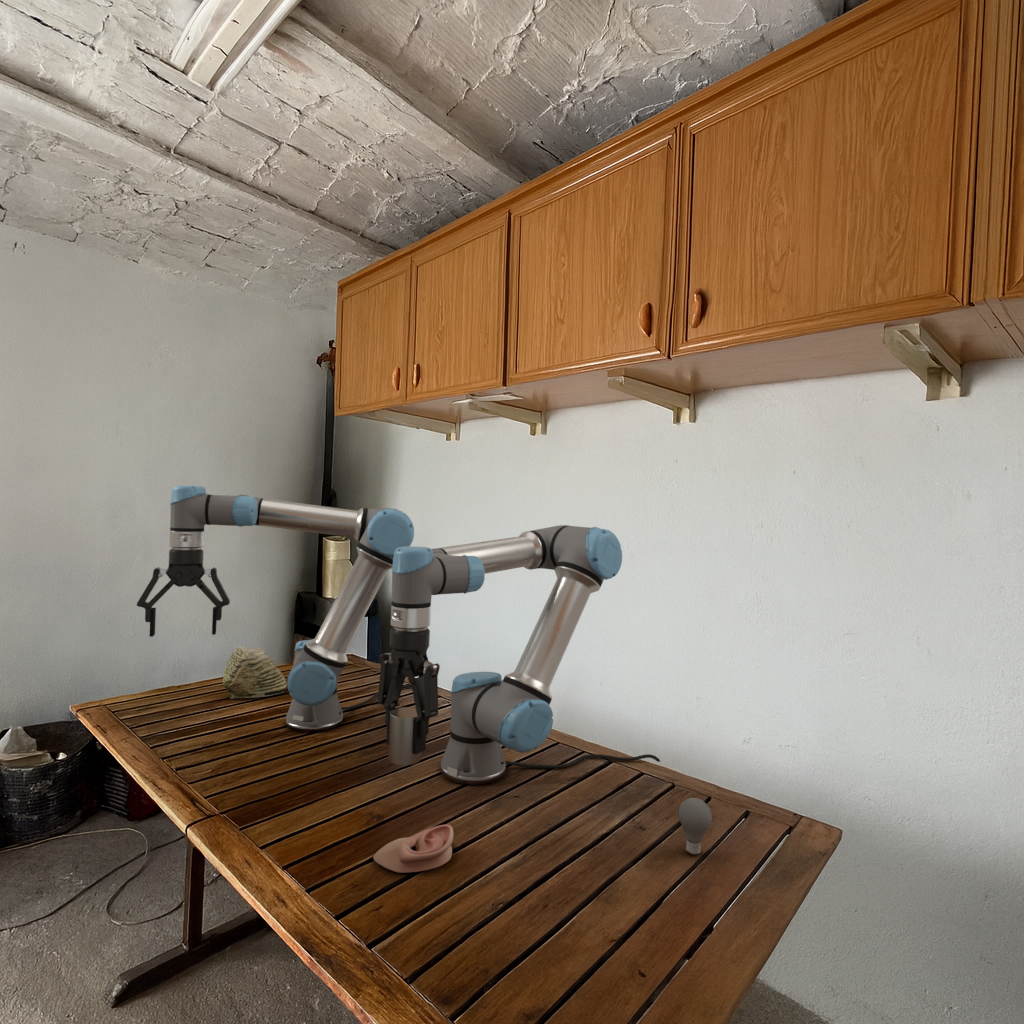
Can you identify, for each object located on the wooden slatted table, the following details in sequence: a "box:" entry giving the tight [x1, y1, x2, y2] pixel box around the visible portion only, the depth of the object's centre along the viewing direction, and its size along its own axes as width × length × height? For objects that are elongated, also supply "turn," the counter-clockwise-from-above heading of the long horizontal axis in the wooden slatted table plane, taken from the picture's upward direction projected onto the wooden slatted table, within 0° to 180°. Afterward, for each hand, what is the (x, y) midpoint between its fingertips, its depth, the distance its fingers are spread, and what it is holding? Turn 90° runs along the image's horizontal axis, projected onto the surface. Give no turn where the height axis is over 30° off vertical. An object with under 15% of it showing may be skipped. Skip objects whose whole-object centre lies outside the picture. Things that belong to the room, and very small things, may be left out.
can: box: [388, 706, 423, 766], centre depth 121 cm, size 6×6×9 cm
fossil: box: [222, 646, 288, 699], centre depth 198 cm, size 9×18×15 cm, turn 132°
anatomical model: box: [372, 824, 455, 874], centre depth 113 cm, size 13×4×12 cm
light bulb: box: [677, 797, 713, 855], centre depth 118 cm, size 6×6×10 cm
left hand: (183, 634), depth 156 cm, fingers open, 13 cm apart
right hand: (405, 746), depth 122 cm, fingers closed on can, 6 cm apart
